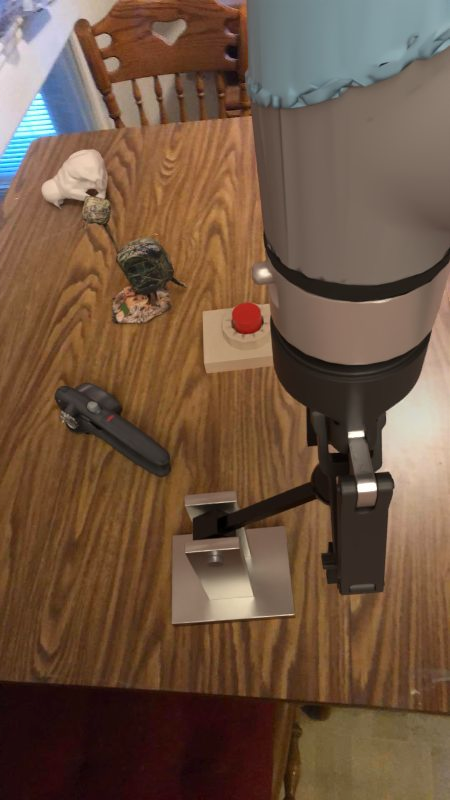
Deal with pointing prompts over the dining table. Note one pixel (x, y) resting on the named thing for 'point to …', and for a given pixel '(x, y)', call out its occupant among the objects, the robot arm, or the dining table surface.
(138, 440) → the can opener
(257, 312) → the button
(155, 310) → the plant with pod
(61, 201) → the white lumpy piece
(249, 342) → the control block
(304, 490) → the lever
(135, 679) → the dining table surface
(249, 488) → the dining table surface
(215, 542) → the bracket
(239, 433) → the dining table surface
